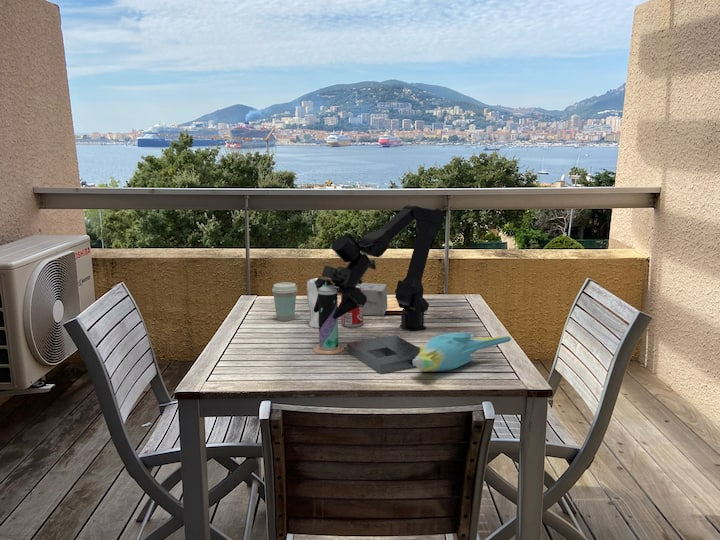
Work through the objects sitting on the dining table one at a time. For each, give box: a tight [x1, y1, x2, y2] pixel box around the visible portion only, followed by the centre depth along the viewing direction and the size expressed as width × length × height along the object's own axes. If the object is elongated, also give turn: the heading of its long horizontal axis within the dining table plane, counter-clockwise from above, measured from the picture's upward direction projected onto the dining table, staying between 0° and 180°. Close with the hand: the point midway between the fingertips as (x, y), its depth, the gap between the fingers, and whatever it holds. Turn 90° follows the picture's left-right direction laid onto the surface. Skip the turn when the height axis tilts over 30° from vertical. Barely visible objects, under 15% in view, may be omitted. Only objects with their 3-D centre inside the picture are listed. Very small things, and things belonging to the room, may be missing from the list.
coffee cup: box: [271, 281, 298, 322], centre depth 208 cm, size 9×8×12 cm
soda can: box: [340, 284, 364, 328], centre depth 200 cm, size 7×7×13 cm
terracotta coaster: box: [312, 343, 345, 356], centre depth 177 cm, size 9×9×1 cm
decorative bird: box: [410, 332, 512, 372], centre depth 162 cm, size 14×30×9 cm, turn 129°
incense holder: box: [359, 282, 388, 317], centre depth 214 cm, size 10×8×10 cm
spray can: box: [318, 279, 339, 351], centre depth 175 cm, size 6×6×20 cm
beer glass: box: [306, 277, 319, 329], centre depth 200 cm, size 7×7×15 cm
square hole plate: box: [346, 334, 421, 375], centre depth 170 cm, size 16×20×2 cm
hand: (324, 315), depth 174 cm, fingers open, 9 cm apart
